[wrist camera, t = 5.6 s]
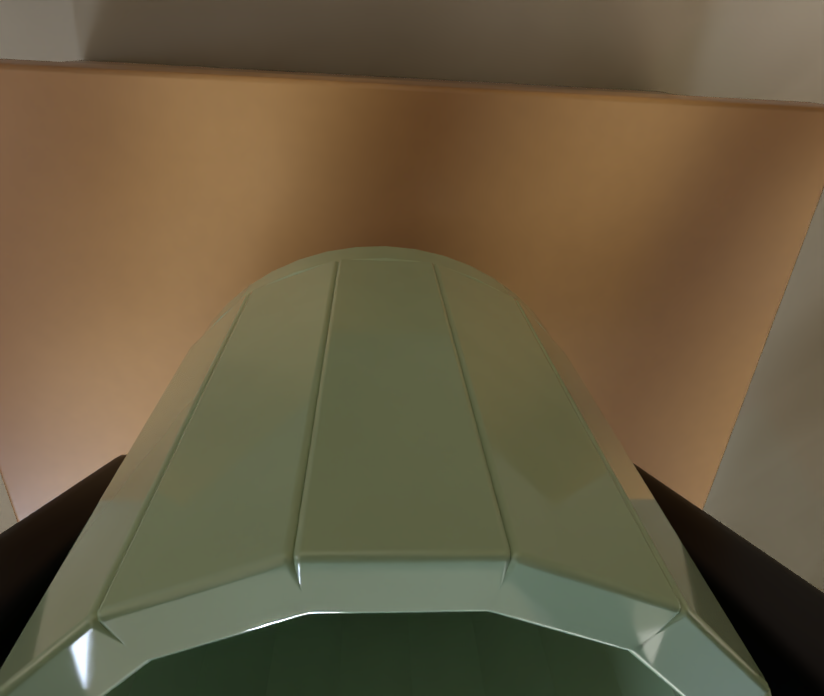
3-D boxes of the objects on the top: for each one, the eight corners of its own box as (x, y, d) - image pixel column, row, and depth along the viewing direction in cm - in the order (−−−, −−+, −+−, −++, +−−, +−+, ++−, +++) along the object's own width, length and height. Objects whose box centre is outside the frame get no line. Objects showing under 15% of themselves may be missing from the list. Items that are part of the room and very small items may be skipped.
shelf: (683, 83, 14) (856, 108, 9) (597, 434, 18) (679, 578, 13) (52, 47, 12) (-151, 54, 8) (132, 431, 17) (38, 587, 12)
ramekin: (603, 252, 8) (929, 552, 3) (537, 563, 11) (663, 967, 6) (153, 236, 8) (-205, 558, 3) (204, 566, 11) (65, 1005, 6)
